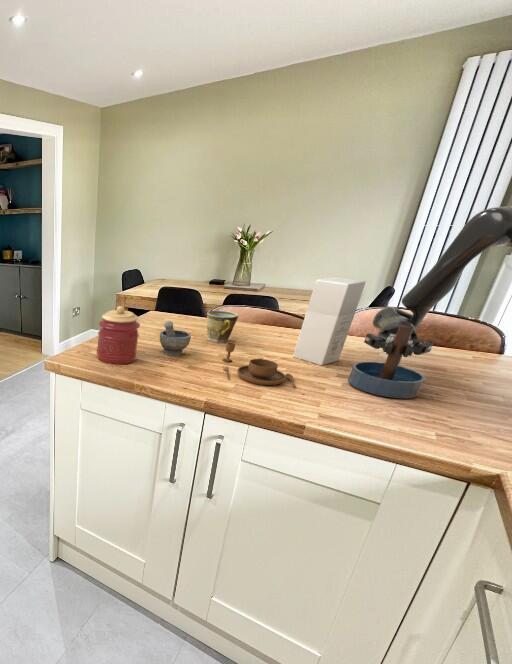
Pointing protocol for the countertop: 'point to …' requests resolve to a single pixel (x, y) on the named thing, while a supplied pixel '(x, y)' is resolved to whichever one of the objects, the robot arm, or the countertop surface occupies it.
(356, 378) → the bowl
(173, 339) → the mortar and pestle
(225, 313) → the ceramic cup
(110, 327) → the kitchen canister
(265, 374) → the place setting
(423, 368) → the countertop surface
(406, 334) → the brown post with base
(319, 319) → the tall white carton
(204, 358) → the countertop surface
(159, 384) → the countertop surface
